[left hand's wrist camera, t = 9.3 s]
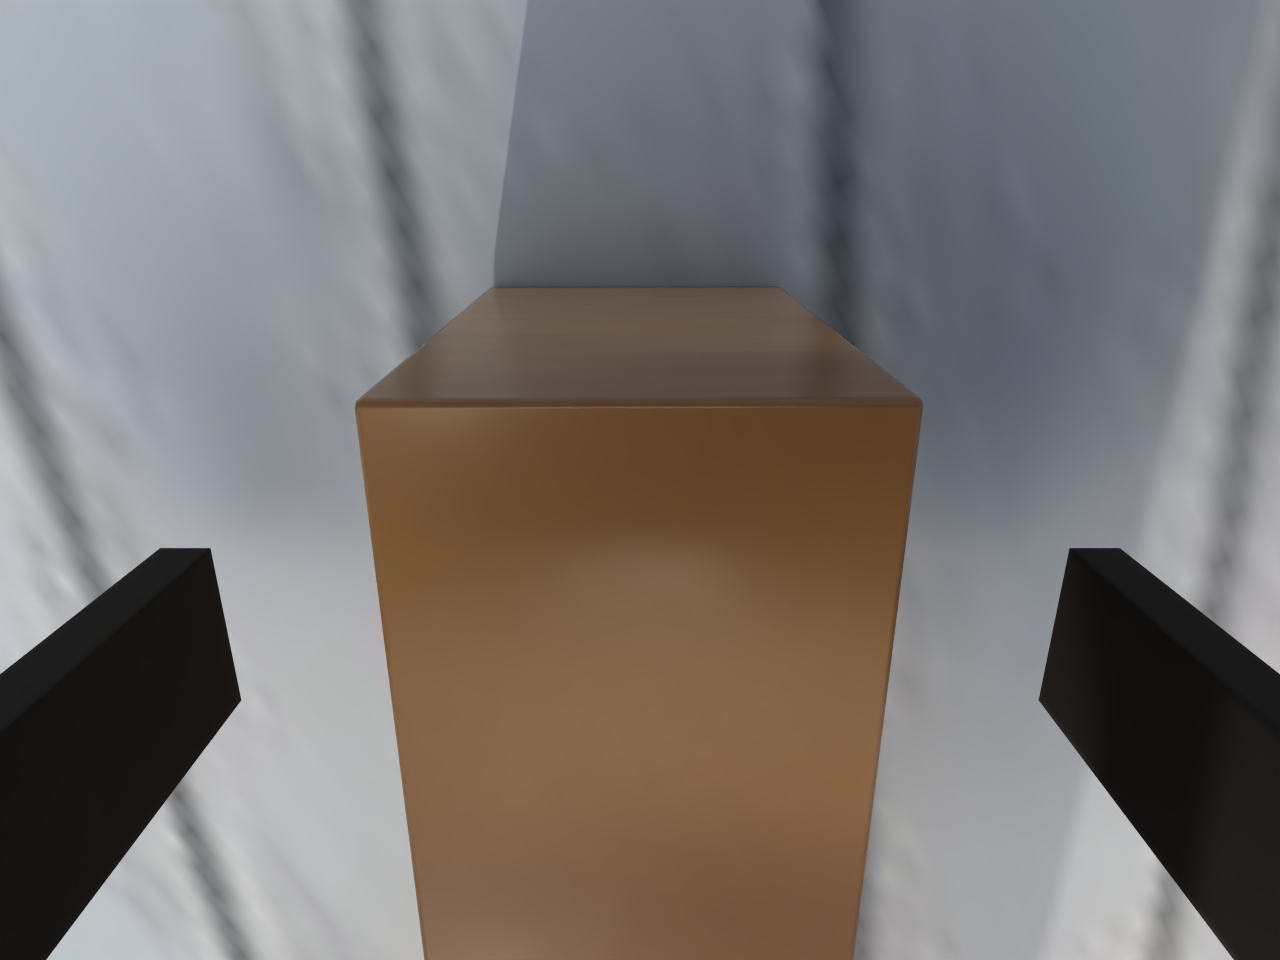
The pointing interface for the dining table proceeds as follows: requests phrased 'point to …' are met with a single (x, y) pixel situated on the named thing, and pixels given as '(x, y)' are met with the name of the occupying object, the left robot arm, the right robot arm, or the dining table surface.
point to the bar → (638, 620)
